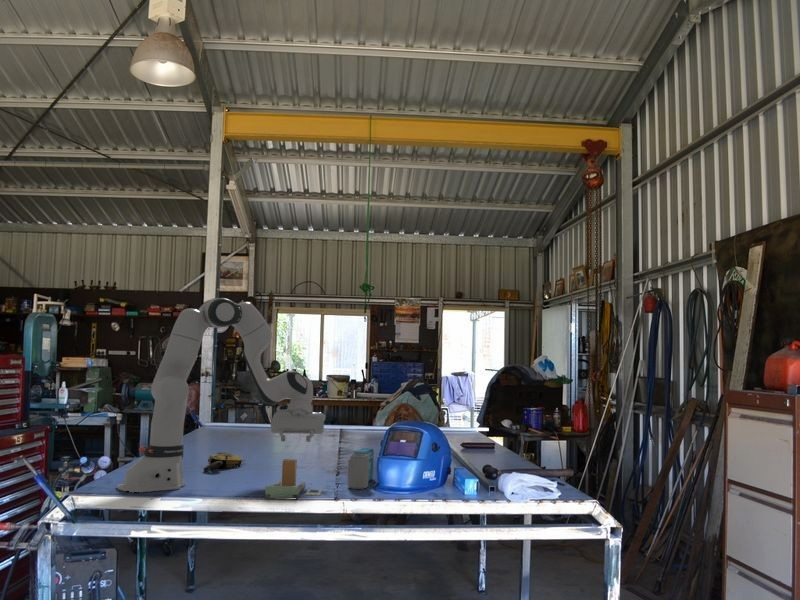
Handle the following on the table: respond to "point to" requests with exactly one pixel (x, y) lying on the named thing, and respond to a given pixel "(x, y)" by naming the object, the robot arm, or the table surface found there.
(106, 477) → the table surface
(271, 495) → the switch channel
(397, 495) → the table surface
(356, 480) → the can
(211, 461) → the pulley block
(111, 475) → the table surface
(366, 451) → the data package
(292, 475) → the orange brown box
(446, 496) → the table surface
